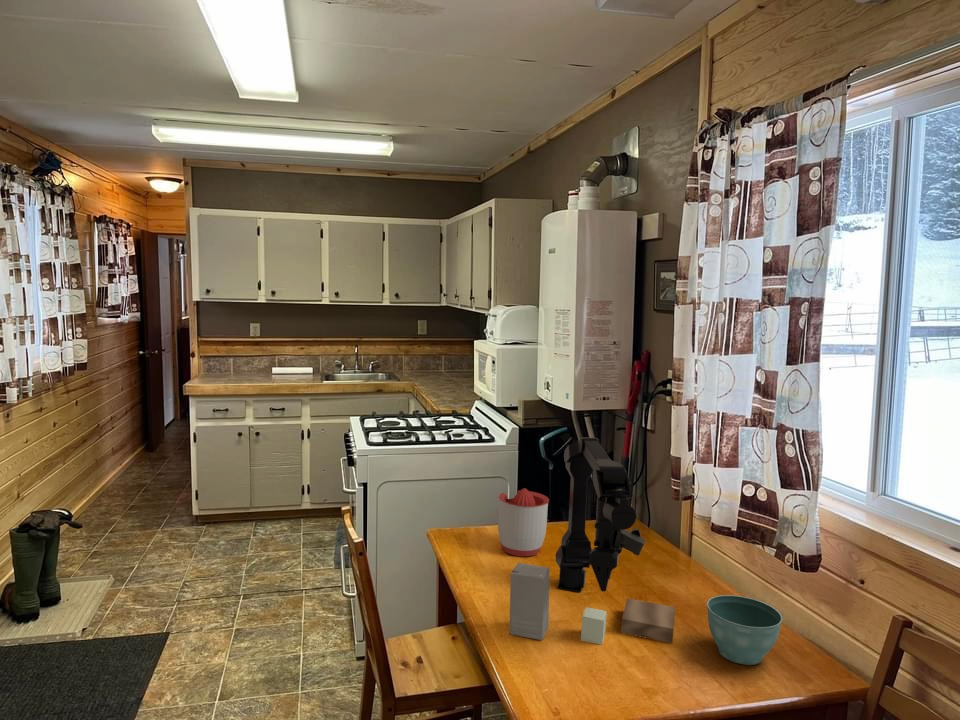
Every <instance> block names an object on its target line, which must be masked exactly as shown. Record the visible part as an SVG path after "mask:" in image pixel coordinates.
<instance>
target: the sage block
mask: <svg viewBox="0 0 960 720" xmlns="http://www.w3.org/2000/svg"><path fill="white" fill-rule="evenodd" d="M607 613H608V612H607V610H602V609H596V608H592V607H586V606H585V609H584V611H583V613H582V620H581V634H580V641H581V642H587V643H591V644H597V645H601V646H603V644H604V640H605V637H604V636H606V626H607Z"/></svg>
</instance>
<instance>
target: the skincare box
mask: <svg viewBox="0 0 960 720" xmlns="http://www.w3.org/2000/svg"><path fill="white" fill-rule="evenodd" d="M509 575H510V583H509V584H510V587H509V588H510V589H509V592H510V593H509V595H510V597H509V600H510V601H509V635H511V636H517V637H522V638H528V639H533V640H538V641H543V639H544V637H545V635H546V633H547V630H548V629H549V616H550V615H549V614H550V613H549V612H550V611H549V609H550V567H549V566H541V565H535V564H528V563H522V562H517V563H516V565H515V566H514V568H512V571H511V572H510V574H509Z"/></svg>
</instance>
